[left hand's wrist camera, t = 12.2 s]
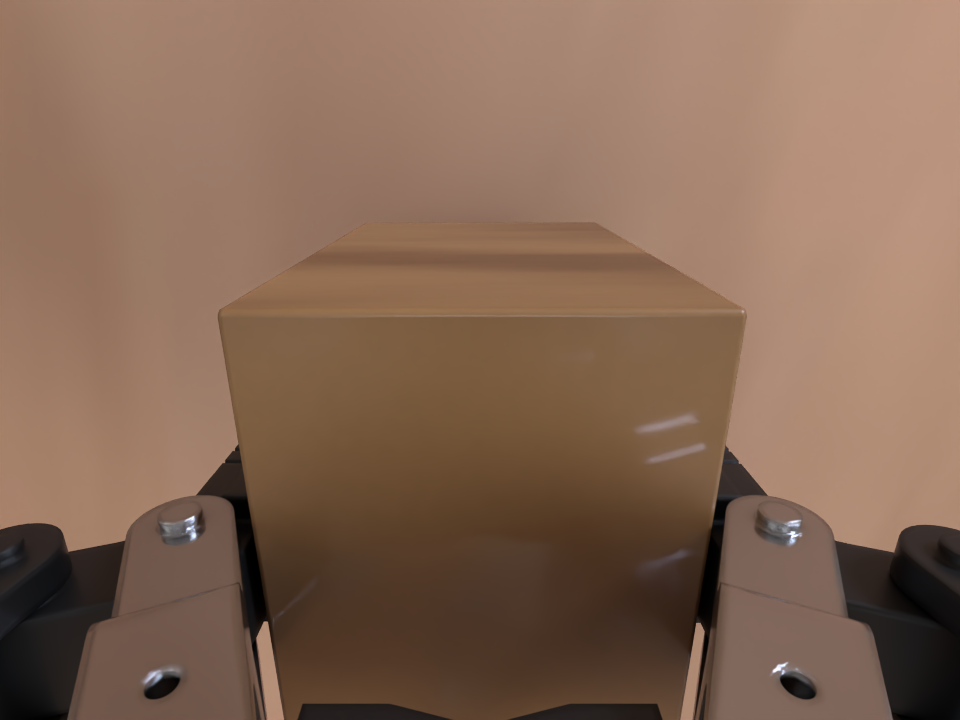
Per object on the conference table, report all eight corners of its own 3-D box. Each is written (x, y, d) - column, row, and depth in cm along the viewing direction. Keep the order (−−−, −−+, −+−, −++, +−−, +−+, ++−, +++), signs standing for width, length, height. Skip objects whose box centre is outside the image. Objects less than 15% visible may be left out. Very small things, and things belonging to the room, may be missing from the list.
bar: (363, 222, 14) (213, 309, 6) (597, 222, 14) (751, 308, 6) (406, 831, 22) (364, 1216, 14) (556, 831, 22) (599, 1216, 14)
